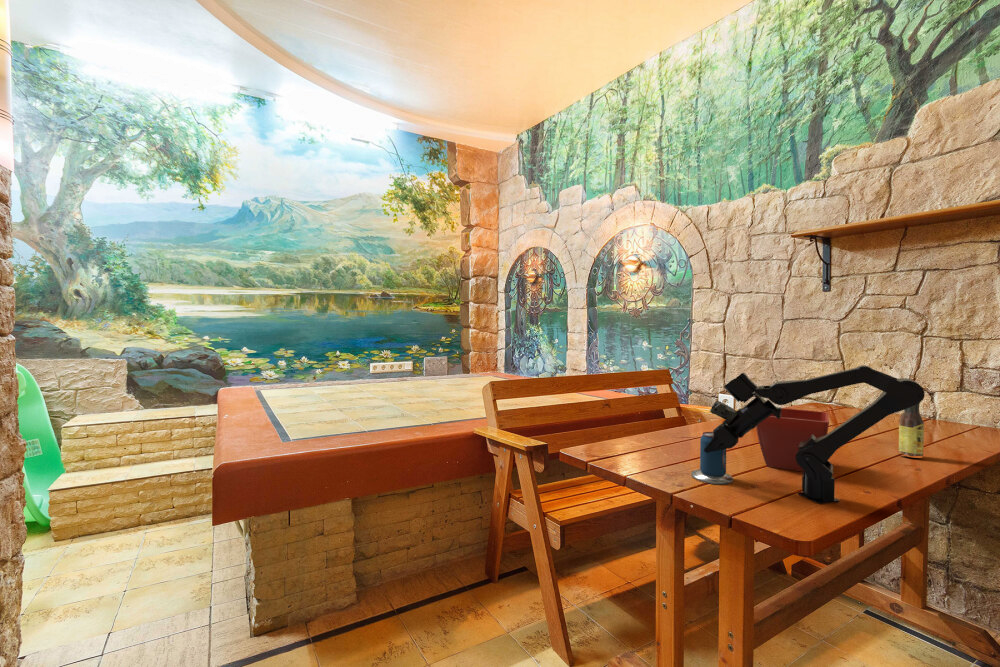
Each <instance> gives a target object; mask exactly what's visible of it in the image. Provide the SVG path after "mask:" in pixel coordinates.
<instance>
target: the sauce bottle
mask: <svg viewBox="0 0 1000 667" xmlns="http://www.w3.org/2000/svg"><path fill="white" fill-rule="evenodd" d="M920 404H921V402H920V403H918V404H916V405H914V406H912V407H909V408H907V409H905V410H903V413H902V414H900V417H899V425H898V453H899V452H900V453H902V454H905V455H909V456H924V442H925V441H924V439H925V438H924V437H925V423H924V420H923V418H922V416H921V413H920Z"/></svg>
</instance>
